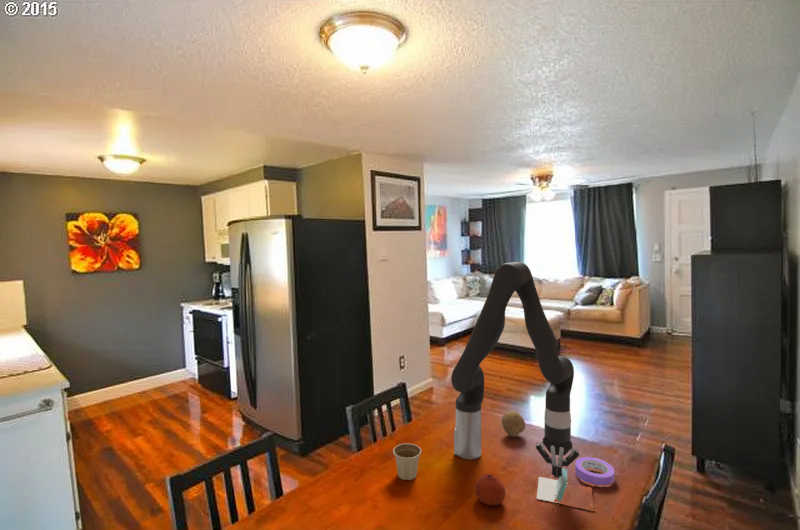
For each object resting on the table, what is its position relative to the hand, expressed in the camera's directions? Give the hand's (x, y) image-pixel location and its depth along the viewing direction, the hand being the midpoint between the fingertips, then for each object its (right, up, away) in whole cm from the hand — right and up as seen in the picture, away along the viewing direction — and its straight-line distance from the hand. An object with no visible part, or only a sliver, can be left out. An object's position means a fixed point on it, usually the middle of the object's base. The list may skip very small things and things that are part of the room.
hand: (557, 476), depth 126 cm
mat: (+2, -5, 0) cm, 6 cm away
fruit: (-22, -6, -4) cm, 23 cm away
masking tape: (+16, -5, +8) cm, 18 cm away
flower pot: (-46, -5, +11) cm, 48 cm away
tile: (0, -5, 0) cm, 5 cm away
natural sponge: (-3, -3, +36) cm, 37 cm away
